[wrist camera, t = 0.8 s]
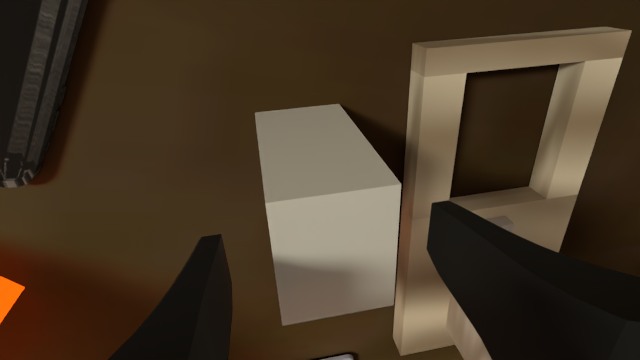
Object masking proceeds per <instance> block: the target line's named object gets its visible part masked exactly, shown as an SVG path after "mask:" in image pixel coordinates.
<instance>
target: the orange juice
mask: <svg viewBox="0 0 640 360" xmlns="http://www.w3.org/2000/svg"><path fill="white" fill-rule="evenodd" d="M24 288H25V287H23V286H21V285H19V284H17V283H15V282H12V281H10V280H8V279H6V278H4V277H1V276H0V323H1V322H2V320H3V319H4V317H5V316H6V314H7V313H8V311H9V310H10V309H11V307H12V306H13V304H14V303H15V301H16V300H17V298H18V297H19V295H20V294H21V292H22V291H23V290H24Z"/></svg>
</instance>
